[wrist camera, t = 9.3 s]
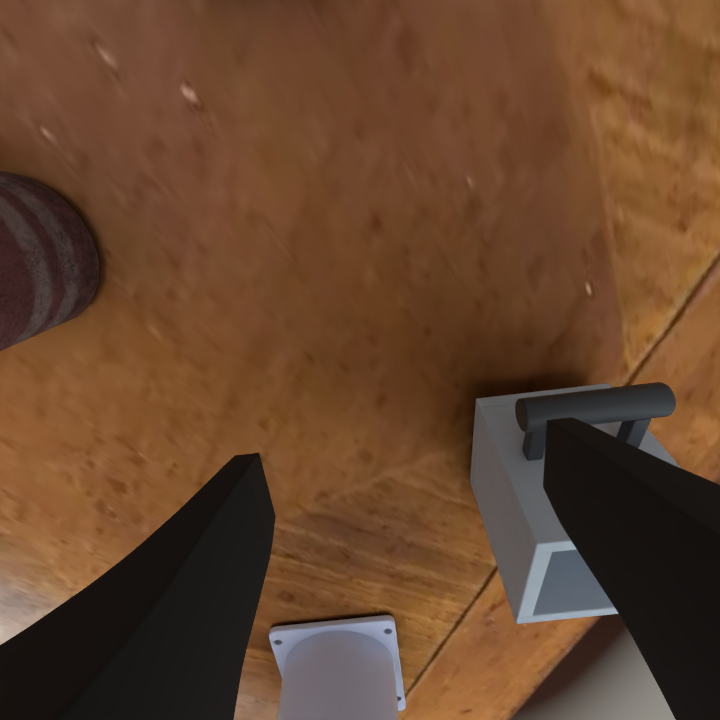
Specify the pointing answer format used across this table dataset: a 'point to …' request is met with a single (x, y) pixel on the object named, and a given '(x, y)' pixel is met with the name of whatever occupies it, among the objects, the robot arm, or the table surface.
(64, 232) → the can
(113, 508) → the table surface
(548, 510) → the handled open box
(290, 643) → the robot arm
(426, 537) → the table surface
